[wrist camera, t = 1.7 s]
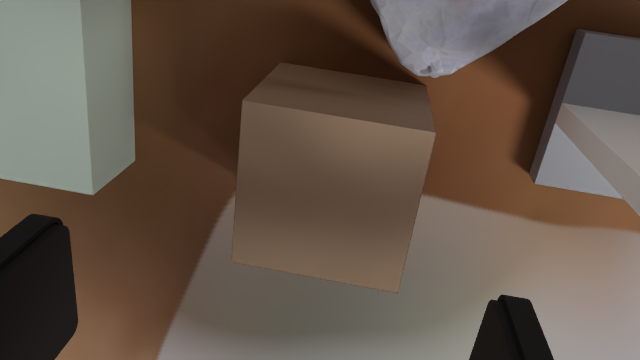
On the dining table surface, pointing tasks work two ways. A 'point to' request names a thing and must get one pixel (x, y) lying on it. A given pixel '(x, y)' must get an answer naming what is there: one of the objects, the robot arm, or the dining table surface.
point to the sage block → (66, 92)
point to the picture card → (595, 120)
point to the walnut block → (331, 174)
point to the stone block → (453, 29)
